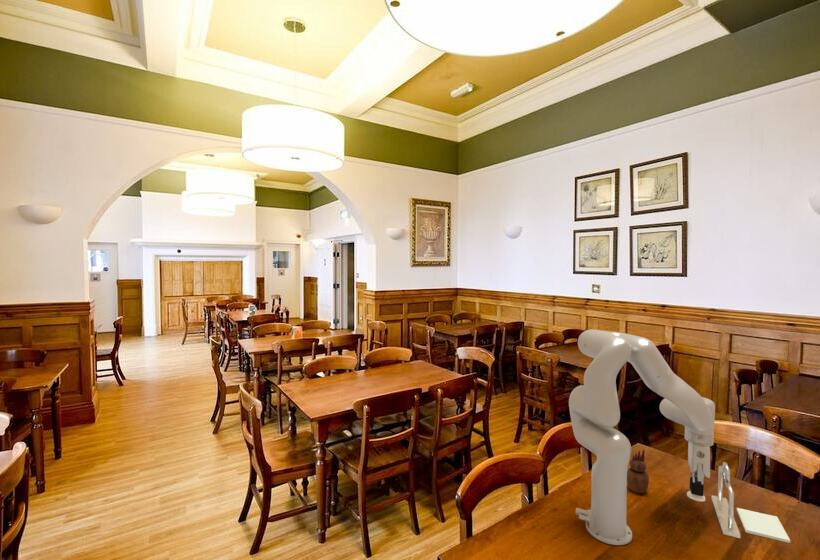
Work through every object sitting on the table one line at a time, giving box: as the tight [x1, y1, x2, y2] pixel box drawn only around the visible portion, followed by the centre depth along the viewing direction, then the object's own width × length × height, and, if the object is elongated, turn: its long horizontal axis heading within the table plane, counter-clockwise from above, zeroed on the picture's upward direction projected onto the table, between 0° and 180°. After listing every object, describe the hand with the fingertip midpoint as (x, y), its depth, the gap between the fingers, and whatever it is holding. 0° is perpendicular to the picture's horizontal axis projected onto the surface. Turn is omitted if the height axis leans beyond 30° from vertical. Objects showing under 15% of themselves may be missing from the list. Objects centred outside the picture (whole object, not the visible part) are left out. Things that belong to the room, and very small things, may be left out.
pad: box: [736, 507, 791, 544], centre depth 123 cm, size 10×12×1 cm
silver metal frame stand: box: [711, 461, 741, 539], centre depth 127 cm, size 4×20×17 cm, turn 151°
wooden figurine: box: [627, 449, 650, 494], centre depth 142 cm, size 7×6×15 cm
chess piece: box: [686, 472, 706, 502], centre depth 130 cm, size 5×5×10 cm
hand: (696, 491), depth 131 cm, fingers closed on chess piece
